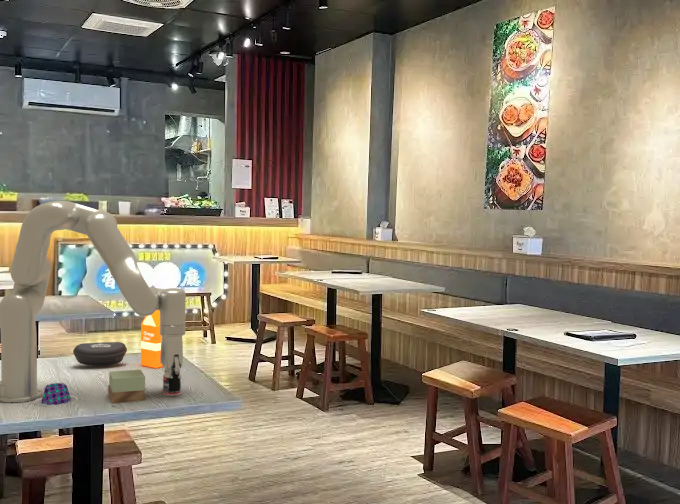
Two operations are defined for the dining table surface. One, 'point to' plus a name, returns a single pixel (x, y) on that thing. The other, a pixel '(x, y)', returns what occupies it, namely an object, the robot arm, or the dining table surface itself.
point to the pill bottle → (166, 383)
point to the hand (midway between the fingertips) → (172, 387)
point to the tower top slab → (126, 380)
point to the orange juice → (151, 340)
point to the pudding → (55, 394)
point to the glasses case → (100, 353)
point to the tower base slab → (126, 396)
